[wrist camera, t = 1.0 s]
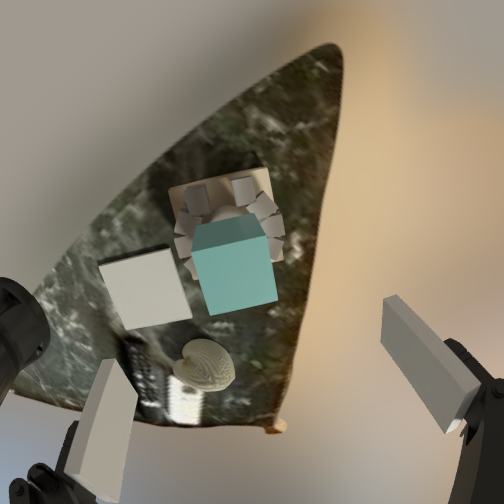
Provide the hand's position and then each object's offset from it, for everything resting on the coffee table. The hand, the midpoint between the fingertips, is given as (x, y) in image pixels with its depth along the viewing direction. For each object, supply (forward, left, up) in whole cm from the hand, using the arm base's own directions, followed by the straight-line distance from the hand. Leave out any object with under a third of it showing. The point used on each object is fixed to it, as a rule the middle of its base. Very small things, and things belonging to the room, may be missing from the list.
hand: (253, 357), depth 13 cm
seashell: (-9, -20, -24) cm, 32 cm away
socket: (0, 0, -23) cm, 23 cm away
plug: (0, 0, -21) cm, 21 cm away
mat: (-13, -6, -23) cm, 27 cm away
